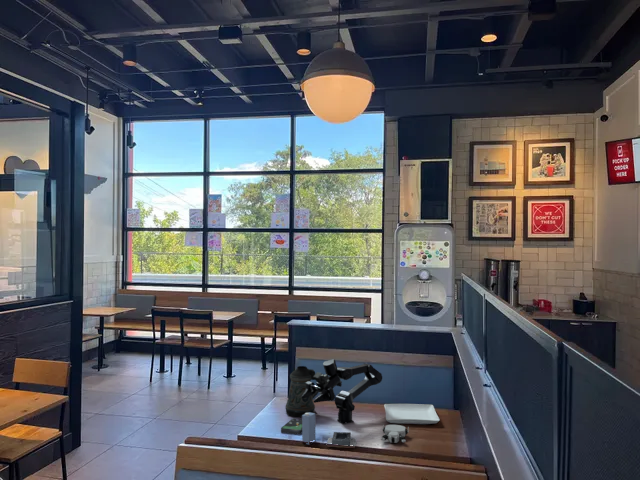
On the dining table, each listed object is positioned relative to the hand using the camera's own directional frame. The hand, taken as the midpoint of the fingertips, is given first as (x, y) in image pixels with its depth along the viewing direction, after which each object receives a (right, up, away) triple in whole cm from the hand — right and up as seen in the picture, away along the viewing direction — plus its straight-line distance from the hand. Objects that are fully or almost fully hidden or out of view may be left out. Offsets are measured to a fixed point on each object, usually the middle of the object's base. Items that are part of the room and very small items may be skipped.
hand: (307, 399), depth 228 cm
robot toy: (+41, -16, -9) cm, 45 cm away
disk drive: (-6, -17, +6) cm, 19 cm away
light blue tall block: (+1, -16, -12) cm, 20 cm away
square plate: (+54, -17, +21) cm, 61 cm away
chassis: (+16, -15, -15) cm, 26 cm away
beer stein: (-4, -18, +32) cm, 37 cm away
